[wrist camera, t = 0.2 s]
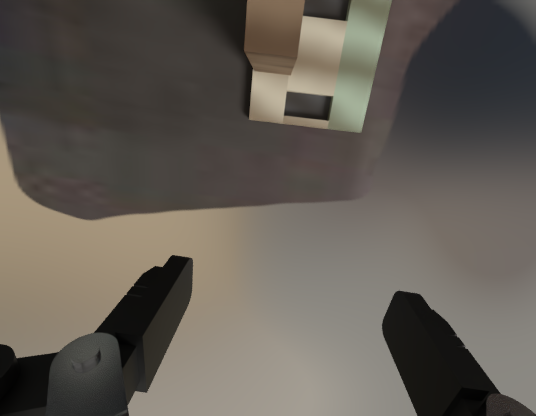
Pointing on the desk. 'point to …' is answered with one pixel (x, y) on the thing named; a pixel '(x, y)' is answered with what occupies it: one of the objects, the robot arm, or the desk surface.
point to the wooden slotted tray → (326, 68)
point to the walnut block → (273, 34)
